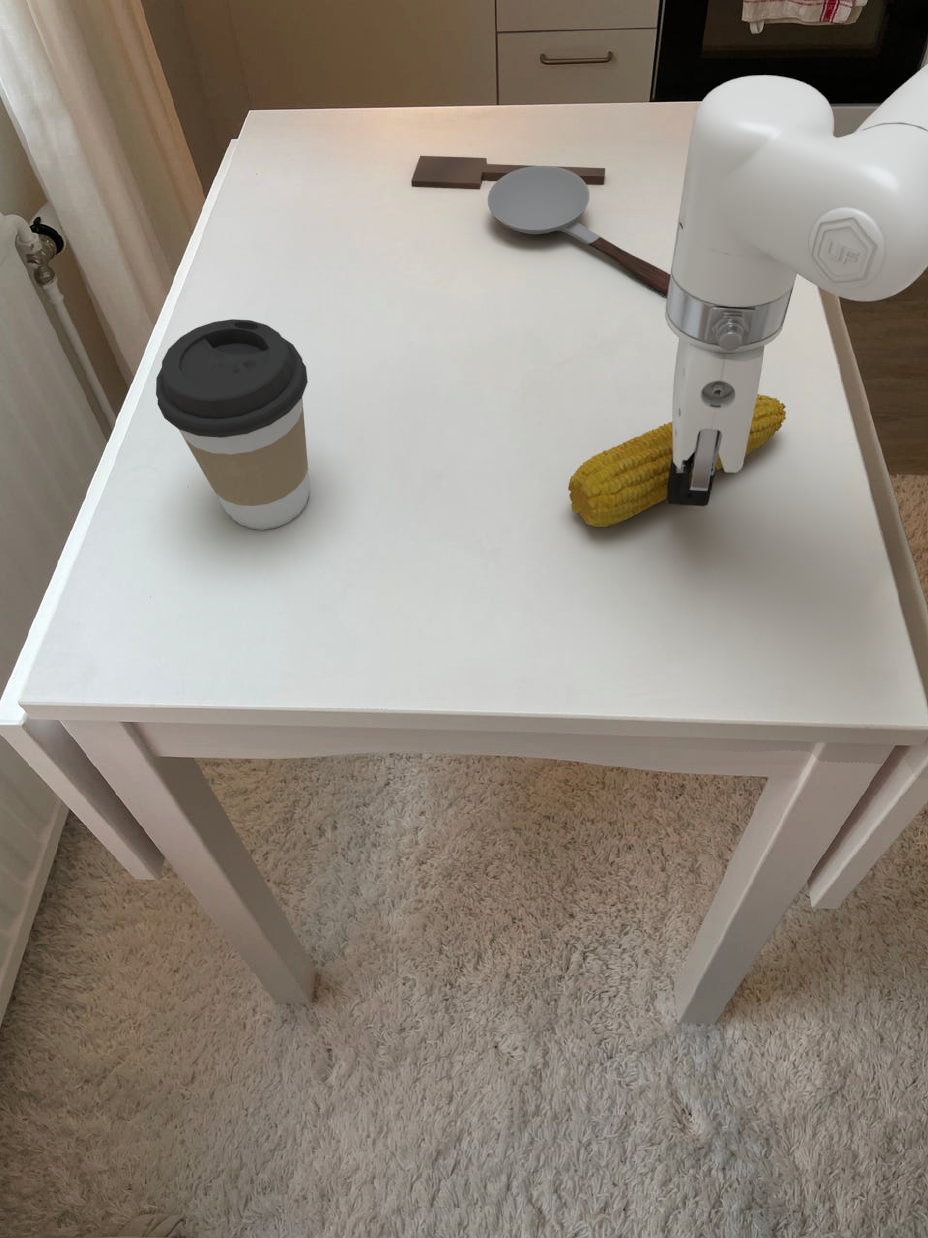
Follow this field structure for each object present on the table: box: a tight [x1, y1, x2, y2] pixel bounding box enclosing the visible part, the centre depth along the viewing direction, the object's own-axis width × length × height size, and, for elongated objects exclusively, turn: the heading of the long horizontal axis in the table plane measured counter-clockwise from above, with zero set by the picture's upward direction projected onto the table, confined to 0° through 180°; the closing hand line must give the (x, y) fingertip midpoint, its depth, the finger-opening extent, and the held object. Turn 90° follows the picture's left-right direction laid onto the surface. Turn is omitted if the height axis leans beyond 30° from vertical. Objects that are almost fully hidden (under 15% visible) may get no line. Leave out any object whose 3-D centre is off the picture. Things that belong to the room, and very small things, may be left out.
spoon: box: [487, 165, 671, 296], centre depth 99 cm, size 11×33×3 cm, turn 42°
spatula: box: [411, 155, 606, 190], centre depth 110 cm, size 22×6×1 cm, turn 81°
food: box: [567, 393, 787, 528], centre depth 79 cm, size 21×6×6 cm, turn 123°
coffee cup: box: [155, 318, 311, 531], centre depth 76 cm, size 11×11×15 cm
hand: (686, 497), depth 75 cm, fingers closed
